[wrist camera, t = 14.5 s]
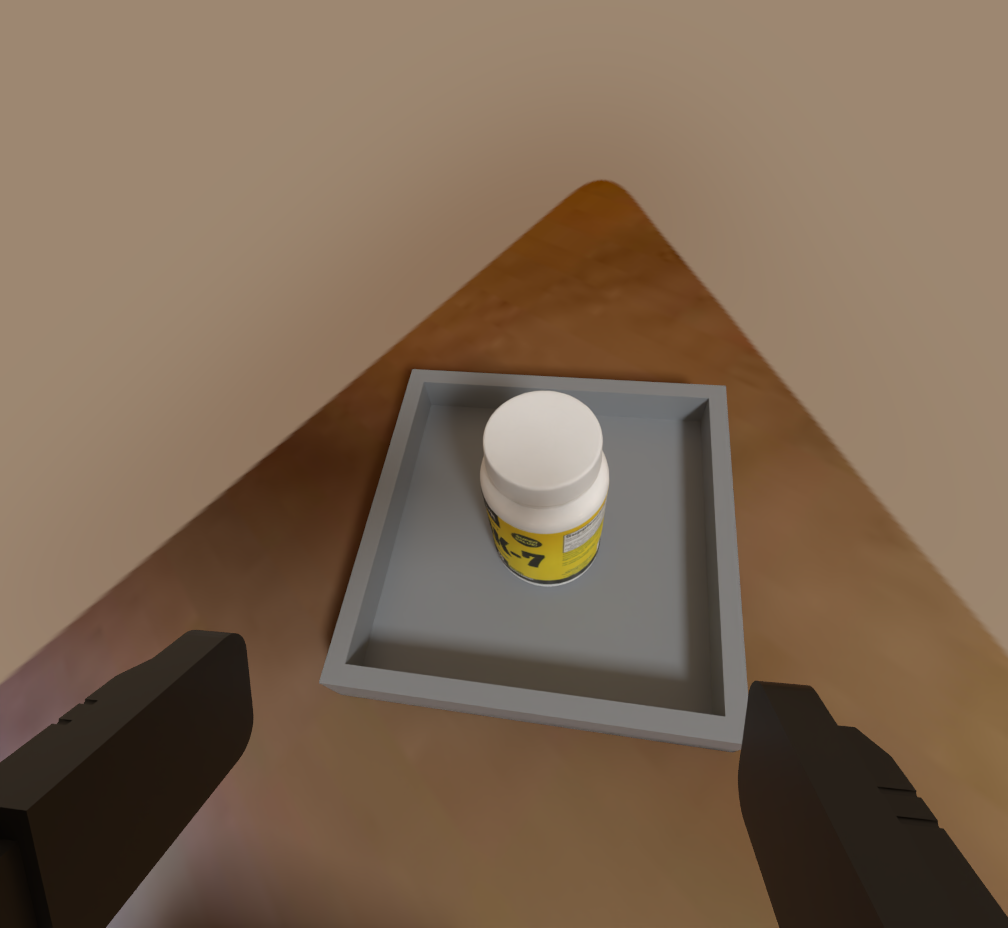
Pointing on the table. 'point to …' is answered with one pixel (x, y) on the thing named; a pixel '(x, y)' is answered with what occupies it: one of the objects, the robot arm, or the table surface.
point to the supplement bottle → (545, 486)
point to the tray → (565, 608)
